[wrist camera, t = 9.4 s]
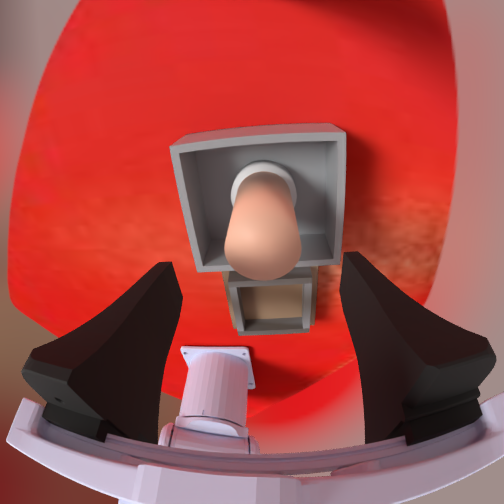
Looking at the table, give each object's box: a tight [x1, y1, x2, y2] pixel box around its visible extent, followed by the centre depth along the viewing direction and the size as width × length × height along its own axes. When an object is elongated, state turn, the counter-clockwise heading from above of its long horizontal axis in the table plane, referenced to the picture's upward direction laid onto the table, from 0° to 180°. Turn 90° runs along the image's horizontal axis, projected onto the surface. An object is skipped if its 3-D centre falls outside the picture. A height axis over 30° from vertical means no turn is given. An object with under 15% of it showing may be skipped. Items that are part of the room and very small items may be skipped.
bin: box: [169, 123, 346, 272], centre depth 19 cm, size 9×10×4 cm
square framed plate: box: [222, 266, 318, 336], centre depth 25 cm, size 8×8×2 cm
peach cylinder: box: [224, 160, 301, 281], centre depth 17 cm, size 4×4×8 cm
